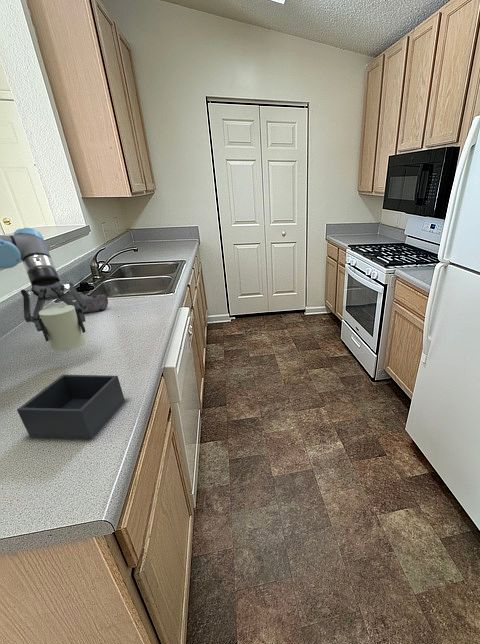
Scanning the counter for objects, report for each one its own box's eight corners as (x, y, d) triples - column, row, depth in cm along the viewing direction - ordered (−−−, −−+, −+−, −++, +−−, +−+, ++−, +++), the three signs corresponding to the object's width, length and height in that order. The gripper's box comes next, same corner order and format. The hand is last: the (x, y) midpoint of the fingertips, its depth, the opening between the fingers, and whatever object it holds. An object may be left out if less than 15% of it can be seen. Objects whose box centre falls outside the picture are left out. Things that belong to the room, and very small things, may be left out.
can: (90, 336, 110) (79, 302, 105) (78, 349, 102) (66, 312, 96) (59, 338, 108) (47, 304, 103) (45, 351, 100) (31, 314, 95)
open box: (30, 437, 76) (16, 409, 72) (72, 399, 89) (62, 374, 85) (91, 439, 75) (80, 411, 72) (125, 401, 88) (117, 375, 85)
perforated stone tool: (72, 316, 144) (67, 301, 141) (72, 312, 148) (67, 298, 145) (110, 310, 151) (106, 295, 148) (110, 307, 155) (106, 292, 152)
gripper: (-6, 271, 96) (18, 339, 92) (80, 261, 108) (104, 320, 104) (1, 285, 102) (24, 350, 98) (82, 274, 114) (105, 330, 110)
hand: (65, 334), depth 101 cm, fingers closed on can, 9 cm apart
